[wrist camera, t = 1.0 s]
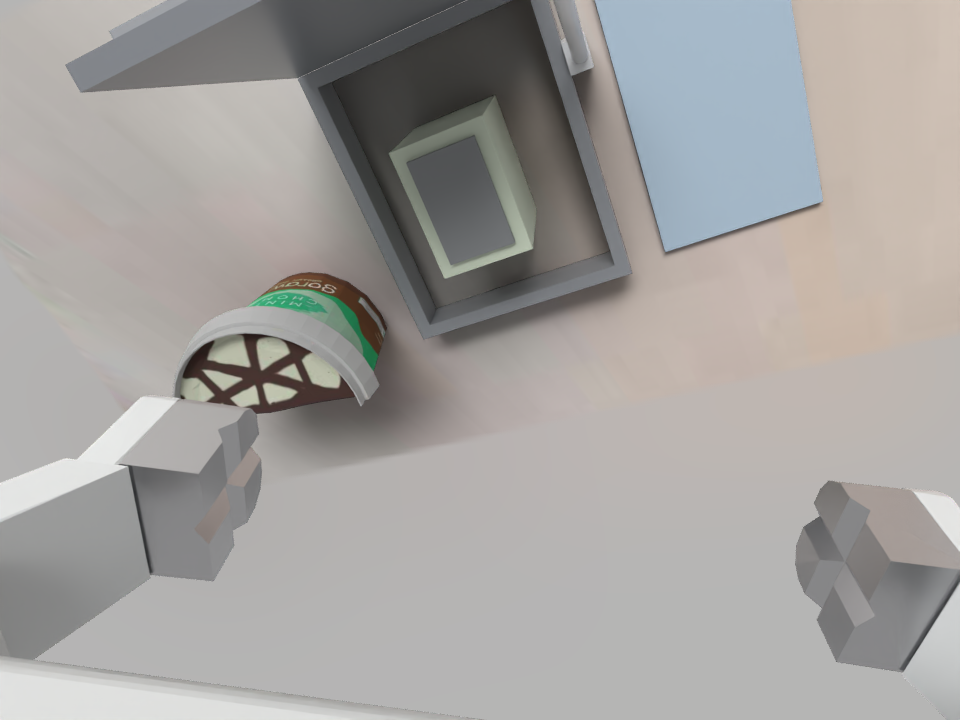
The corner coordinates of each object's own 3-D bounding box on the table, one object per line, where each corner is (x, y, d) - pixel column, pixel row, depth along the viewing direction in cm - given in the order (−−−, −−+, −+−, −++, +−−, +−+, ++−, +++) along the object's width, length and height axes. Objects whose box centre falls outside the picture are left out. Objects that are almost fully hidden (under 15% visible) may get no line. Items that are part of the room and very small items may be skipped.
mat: (773, -93, 31) (775, -94, 31) (820, 199, 38) (823, 201, 37) (591, -12, 34) (591, -12, 33) (664, 249, 40) (665, 252, 40)
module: (495, 94, 37) (482, 116, 30) (536, 209, 40) (532, 250, 33) (415, 127, 38) (387, 154, 32) (461, 236, 41) (443, 281, 35)
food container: (380, 239, 42) (333, 303, 33) (407, 324, 44) (370, 404, 36) (209, 273, 44) (124, 342, 35) (245, 352, 47) (174, 433, 38)
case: (554, -65, 33) (552, -96, 21) (647, 252, 40) (682, 355, 29) (303, 53, 37) (187, 81, 25) (430, 322, 44) (385, 437, 33)
